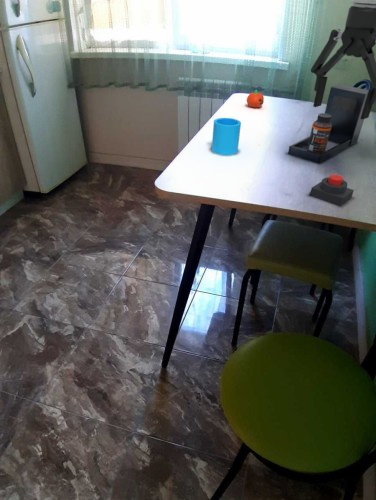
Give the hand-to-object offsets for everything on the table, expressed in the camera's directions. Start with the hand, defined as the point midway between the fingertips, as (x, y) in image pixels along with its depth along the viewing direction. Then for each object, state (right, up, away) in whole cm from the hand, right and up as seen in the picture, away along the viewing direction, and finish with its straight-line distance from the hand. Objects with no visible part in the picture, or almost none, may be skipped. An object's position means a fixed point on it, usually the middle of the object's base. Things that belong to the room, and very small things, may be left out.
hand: (339, 112), depth 105 cm
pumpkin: (-11, +39, +68) cm, 79 cm away
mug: (-26, +4, +30) cm, 41 cm away
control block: (0, -19, +6) cm, 21 cm away
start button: (0, -17, +4) cm, 17 cm away
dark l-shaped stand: (+7, +6, +34) cm, 36 cm away
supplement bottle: (+3, +3, +31) cm, 31 cm away
